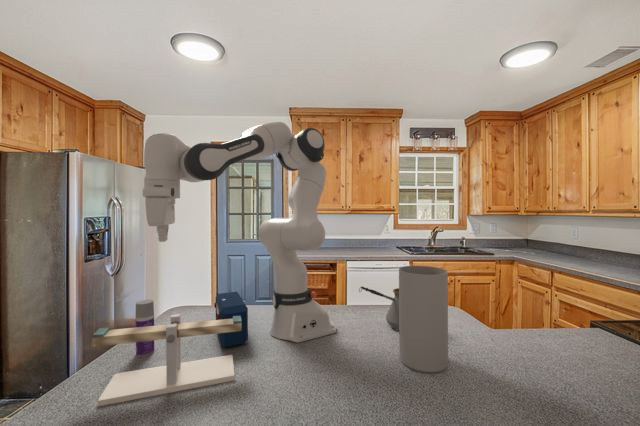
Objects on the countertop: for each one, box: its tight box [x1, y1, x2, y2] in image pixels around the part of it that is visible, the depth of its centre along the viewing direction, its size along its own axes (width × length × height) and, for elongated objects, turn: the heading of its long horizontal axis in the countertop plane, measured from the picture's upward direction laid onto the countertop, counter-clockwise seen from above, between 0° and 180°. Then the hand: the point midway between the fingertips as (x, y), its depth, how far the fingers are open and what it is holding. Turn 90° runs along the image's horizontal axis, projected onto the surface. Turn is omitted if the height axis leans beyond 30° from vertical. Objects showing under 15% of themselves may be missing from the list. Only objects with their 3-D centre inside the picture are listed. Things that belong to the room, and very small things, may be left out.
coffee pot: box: [358, 286, 399, 331], centre depth 102 cm, size 21×12×15 cm, turn 98°
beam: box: [91, 316, 242, 348], centre depth 72 cm, size 32×4×3 cm, turn 109°
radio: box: [213, 291, 249, 348], centre depth 97 cm, size 21×9×20 cm, turn 24°
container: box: [134, 299, 155, 358], centre depth 85 cm, size 5×5×15 cm
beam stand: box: [97, 313, 236, 407], centre depth 72 cm, size 28×11×15 cm, turn 109°
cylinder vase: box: [398, 265, 449, 374], centre depth 79 cm, size 12×12×25 cm
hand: (163, 241), depth 81 cm, fingers closed
